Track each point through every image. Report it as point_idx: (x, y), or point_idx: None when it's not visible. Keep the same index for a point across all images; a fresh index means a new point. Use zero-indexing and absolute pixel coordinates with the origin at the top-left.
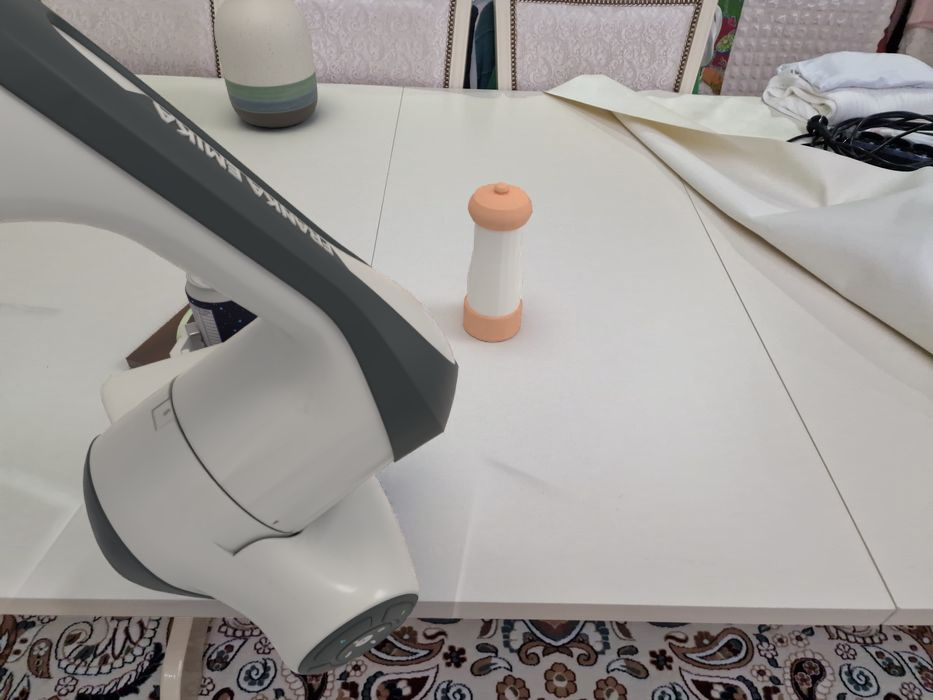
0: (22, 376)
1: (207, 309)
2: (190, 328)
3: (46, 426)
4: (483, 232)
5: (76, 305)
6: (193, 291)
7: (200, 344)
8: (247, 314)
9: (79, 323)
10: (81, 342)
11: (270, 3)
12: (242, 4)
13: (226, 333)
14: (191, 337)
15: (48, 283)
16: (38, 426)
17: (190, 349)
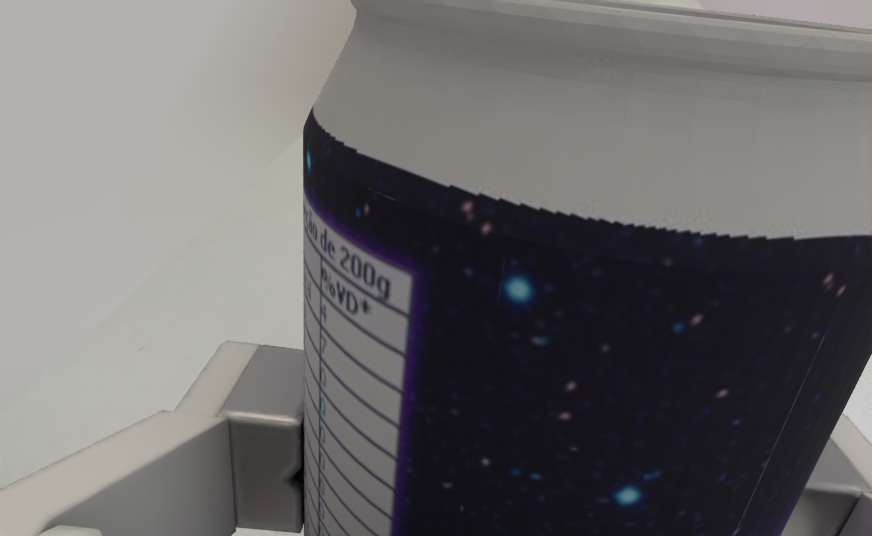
0: (96, 348)
1: (382, 254)
2: (266, 377)
3: (27, 463)
4: None
5: (256, 276)
6: (348, 71)
7: (276, 498)
8: (729, 461)
9: (239, 302)
10: (217, 331)
11: (683, 5)
12: (645, 1)
13: None
14: (235, 436)
15: (249, 238)
16: (18, 455)
17: (187, 515)
